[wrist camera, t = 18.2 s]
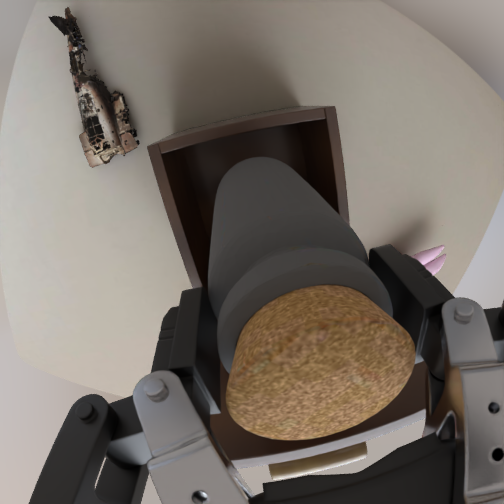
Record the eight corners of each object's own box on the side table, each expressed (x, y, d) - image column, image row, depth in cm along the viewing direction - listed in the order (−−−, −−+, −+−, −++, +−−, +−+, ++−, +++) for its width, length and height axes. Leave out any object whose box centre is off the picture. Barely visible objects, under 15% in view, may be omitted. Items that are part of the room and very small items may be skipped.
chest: (172, 134, 27) (146, 146, 18) (301, 106, 26) (335, 106, 18) (207, 256, 33) (202, 312, 24) (320, 231, 33) (352, 279, 24)
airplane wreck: (96, -3, 18) (73, -19, 14) (144, 146, 27) (126, 155, 22) (51, 24, 19) (23, 15, 14) (95, 168, 27) (72, 182, 22)
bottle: (197, 186, 19) (143, 379, 6) (277, 138, 18) (416, 237, 5) (245, 254, 21) (275, 464, 8) (318, 213, 20) (442, 388, 7)
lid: (164, 463, 10) (204, 510, 11) (458, 392, 9) (437, 454, 11) (200, 312, 24) (217, 362, 25) (354, 277, 23) (358, 330, 25)
